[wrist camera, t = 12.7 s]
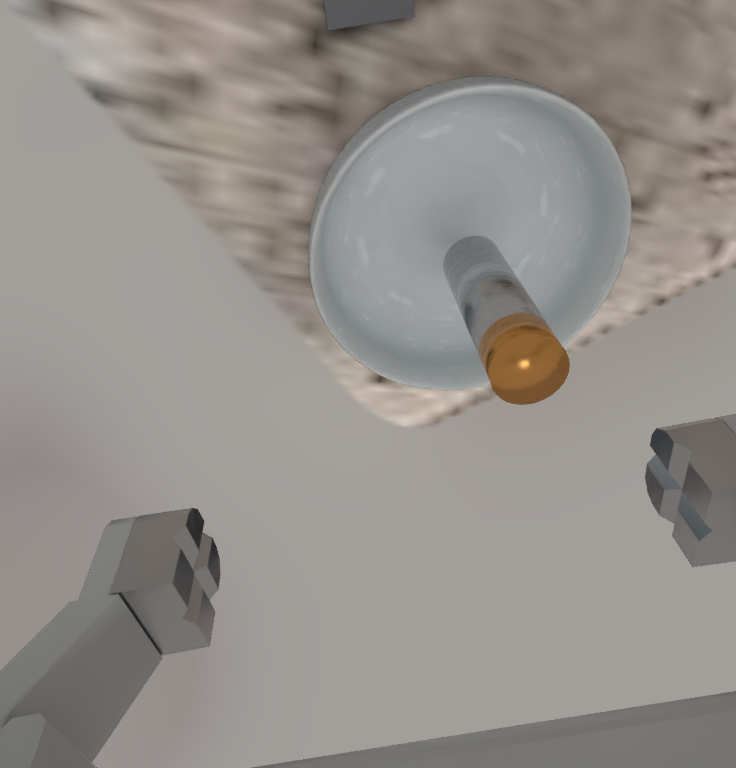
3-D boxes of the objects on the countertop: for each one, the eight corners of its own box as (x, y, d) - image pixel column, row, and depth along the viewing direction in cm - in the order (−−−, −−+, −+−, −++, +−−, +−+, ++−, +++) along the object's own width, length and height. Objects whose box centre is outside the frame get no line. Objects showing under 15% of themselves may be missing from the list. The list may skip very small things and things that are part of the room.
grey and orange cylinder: (500, 231, 29) (572, 333, 21) (500, 284, 31) (566, 398, 23) (441, 240, 29) (490, 346, 21) (444, 293, 31) (491, 409, 23)
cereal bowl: (418, 374, 43) (433, 437, 37) (250, 205, 35) (237, 253, 29) (629, 225, 37) (686, 272, 32) (488, -18, 29) (531, -13, 23)
